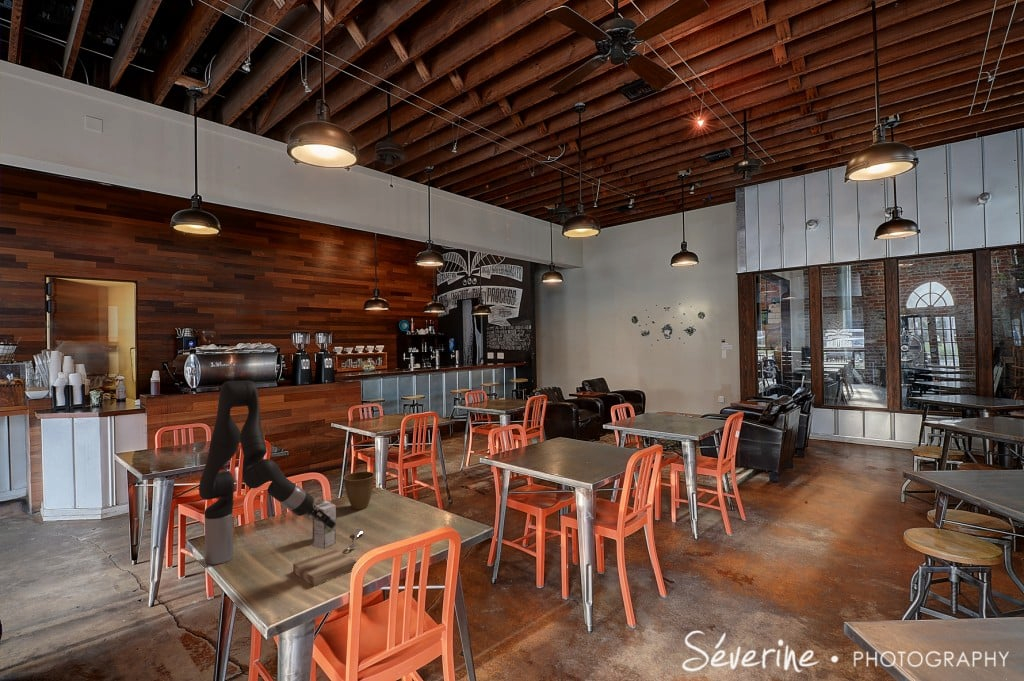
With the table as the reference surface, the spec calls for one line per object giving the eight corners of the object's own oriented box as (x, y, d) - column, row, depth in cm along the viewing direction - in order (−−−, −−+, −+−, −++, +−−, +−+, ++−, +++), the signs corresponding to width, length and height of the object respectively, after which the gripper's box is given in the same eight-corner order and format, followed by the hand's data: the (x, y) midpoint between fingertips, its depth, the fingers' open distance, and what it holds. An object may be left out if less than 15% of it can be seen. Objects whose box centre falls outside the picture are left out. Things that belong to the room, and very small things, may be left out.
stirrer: (354, 543, 190) (341, 543, 190) (354, 552, 190) (341, 553, 190) (365, 526, 210) (354, 527, 210) (365, 535, 210) (354, 535, 210)
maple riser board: (293, 571, 175) (293, 563, 175) (334, 556, 187) (334, 548, 187) (314, 586, 164) (314, 577, 164) (356, 569, 176) (356, 561, 176)
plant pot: (355, 501, 251) (354, 470, 251) (380, 503, 247) (380, 472, 247) (337, 511, 236) (337, 478, 236) (364, 513, 232) (364, 480, 232)
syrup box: (324, 541, 179) (324, 502, 179) (336, 543, 177) (336, 504, 177) (312, 547, 174) (311, 506, 174) (324, 549, 172) (323, 509, 172)
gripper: (313, 494, 165) (345, 518, 174) (294, 486, 175) (325, 510, 183) (298, 514, 161) (331, 538, 170) (279, 505, 171) (312, 528, 179)
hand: (328, 523), depth 177 cm, fingers closed on syrup box, 6 cm apart
